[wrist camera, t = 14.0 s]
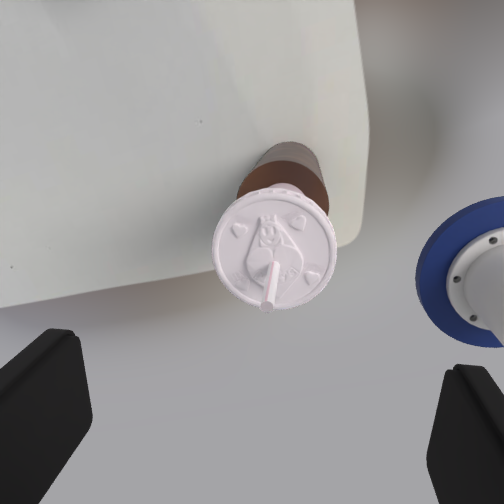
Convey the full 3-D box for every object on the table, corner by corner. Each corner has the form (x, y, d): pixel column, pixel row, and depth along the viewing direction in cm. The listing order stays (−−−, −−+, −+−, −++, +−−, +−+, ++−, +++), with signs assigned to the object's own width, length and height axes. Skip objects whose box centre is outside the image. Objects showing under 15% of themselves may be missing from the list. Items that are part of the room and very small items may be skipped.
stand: (322, 142, 41) (333, 161, 27) (317, 204, 44) (324, 253, 29) (259, 140, 42) (235, 158, 27) (258, 201, 45) (235, 248, 30)
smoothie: (246, 253, 30) (203, 366, 17) (232, 170, 28) (169, 226, 15) (330, 244, 29) (354, 357, 16) (322, 157, 27) (341, 204, 14)
